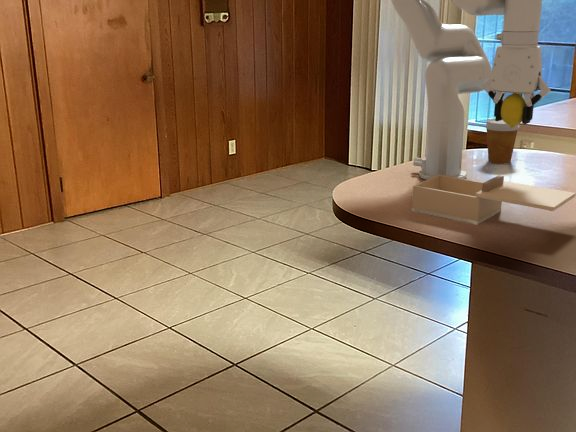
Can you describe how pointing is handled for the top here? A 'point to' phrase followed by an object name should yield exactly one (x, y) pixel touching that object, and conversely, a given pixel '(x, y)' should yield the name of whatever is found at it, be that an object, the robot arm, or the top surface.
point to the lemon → (513, 109)
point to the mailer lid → (523, 194)
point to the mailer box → (453, 199)
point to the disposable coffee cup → (500, 141)
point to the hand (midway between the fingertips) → (512, 121)
